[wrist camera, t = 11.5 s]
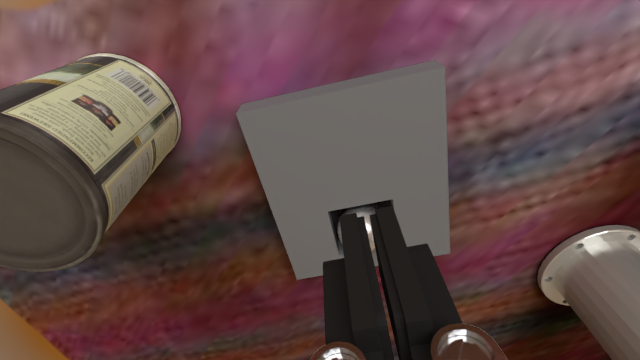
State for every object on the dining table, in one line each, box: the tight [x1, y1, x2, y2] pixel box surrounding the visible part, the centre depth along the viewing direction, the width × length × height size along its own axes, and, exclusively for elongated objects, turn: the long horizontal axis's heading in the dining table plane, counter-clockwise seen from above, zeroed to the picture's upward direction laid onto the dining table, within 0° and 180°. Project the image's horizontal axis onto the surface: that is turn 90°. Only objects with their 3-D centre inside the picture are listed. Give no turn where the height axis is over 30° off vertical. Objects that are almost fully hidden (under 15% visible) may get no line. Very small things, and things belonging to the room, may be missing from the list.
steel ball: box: [337, 205, 376, 252], centre depth 34 cm, size 5×5×5 cm
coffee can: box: [0, 54, 181, 272], centre depth 24 cm, size 10×10×14 cm
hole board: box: [236, 60, 450, 280], centre depth 33 cm, size 17×20×2 cm
